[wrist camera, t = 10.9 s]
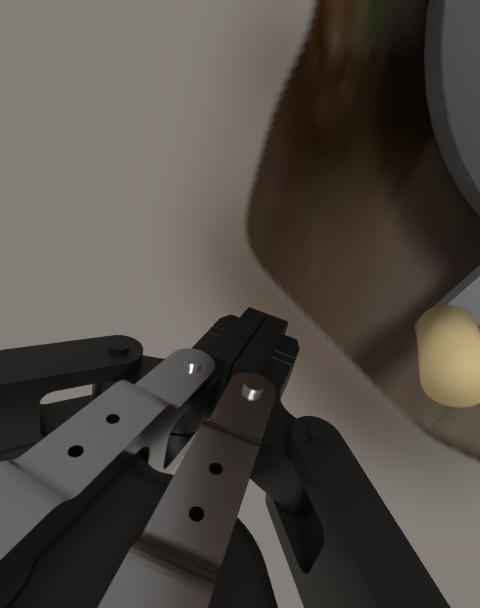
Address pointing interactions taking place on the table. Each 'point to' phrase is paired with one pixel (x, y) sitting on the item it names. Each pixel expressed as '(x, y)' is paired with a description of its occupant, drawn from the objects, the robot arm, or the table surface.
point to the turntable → (476, 161)
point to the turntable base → (437, 109)
